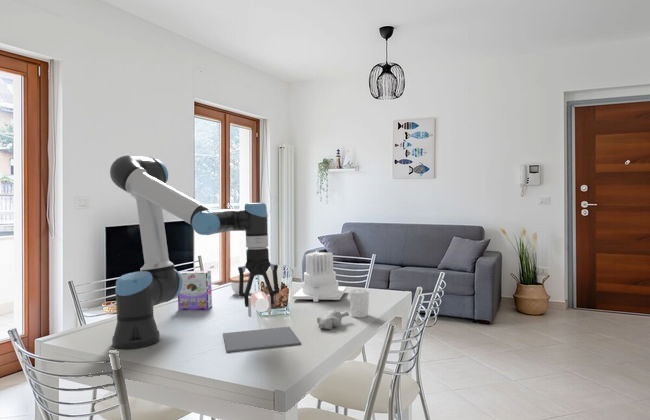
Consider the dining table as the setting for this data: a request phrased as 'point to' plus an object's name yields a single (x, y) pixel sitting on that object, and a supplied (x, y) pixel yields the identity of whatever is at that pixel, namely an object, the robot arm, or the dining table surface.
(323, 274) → the white finned lamp
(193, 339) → the dining table surface
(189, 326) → the dining table surface
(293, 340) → the mat
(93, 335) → the dining table surface
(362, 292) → the white cup
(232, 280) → the lidded jar
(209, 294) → the candy box
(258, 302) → the beverage cup
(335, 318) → the bunny figurine
